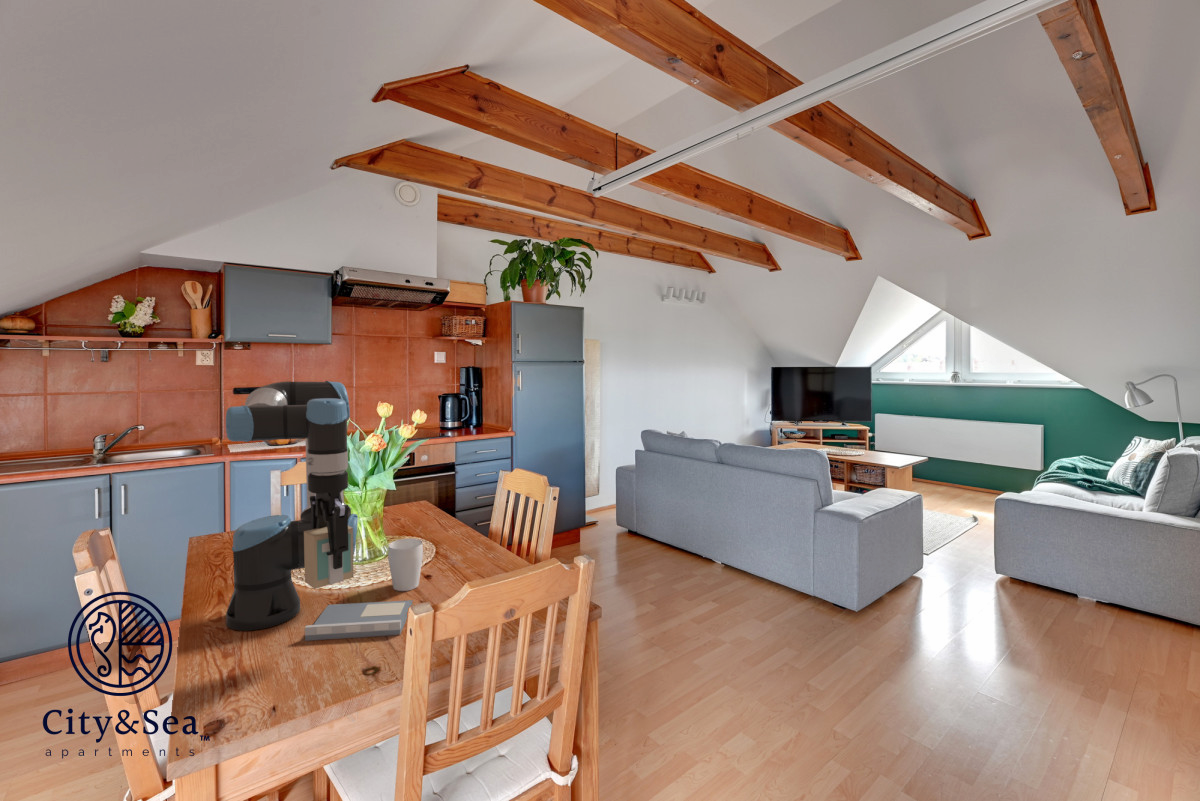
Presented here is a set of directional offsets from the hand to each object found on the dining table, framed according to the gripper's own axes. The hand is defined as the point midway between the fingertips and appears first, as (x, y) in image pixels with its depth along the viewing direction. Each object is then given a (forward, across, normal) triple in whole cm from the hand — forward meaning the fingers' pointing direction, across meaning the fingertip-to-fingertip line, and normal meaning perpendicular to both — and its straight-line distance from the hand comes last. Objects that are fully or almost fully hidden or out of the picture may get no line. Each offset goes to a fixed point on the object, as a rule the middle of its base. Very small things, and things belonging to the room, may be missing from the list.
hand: (329, 578), depth 113 cm
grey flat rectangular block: (+15, -6, +10) cm, 19 cm away
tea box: (0, 0, 0) cm, 0 cm away
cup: (+16, -16, +27) cm, 35 cm away
